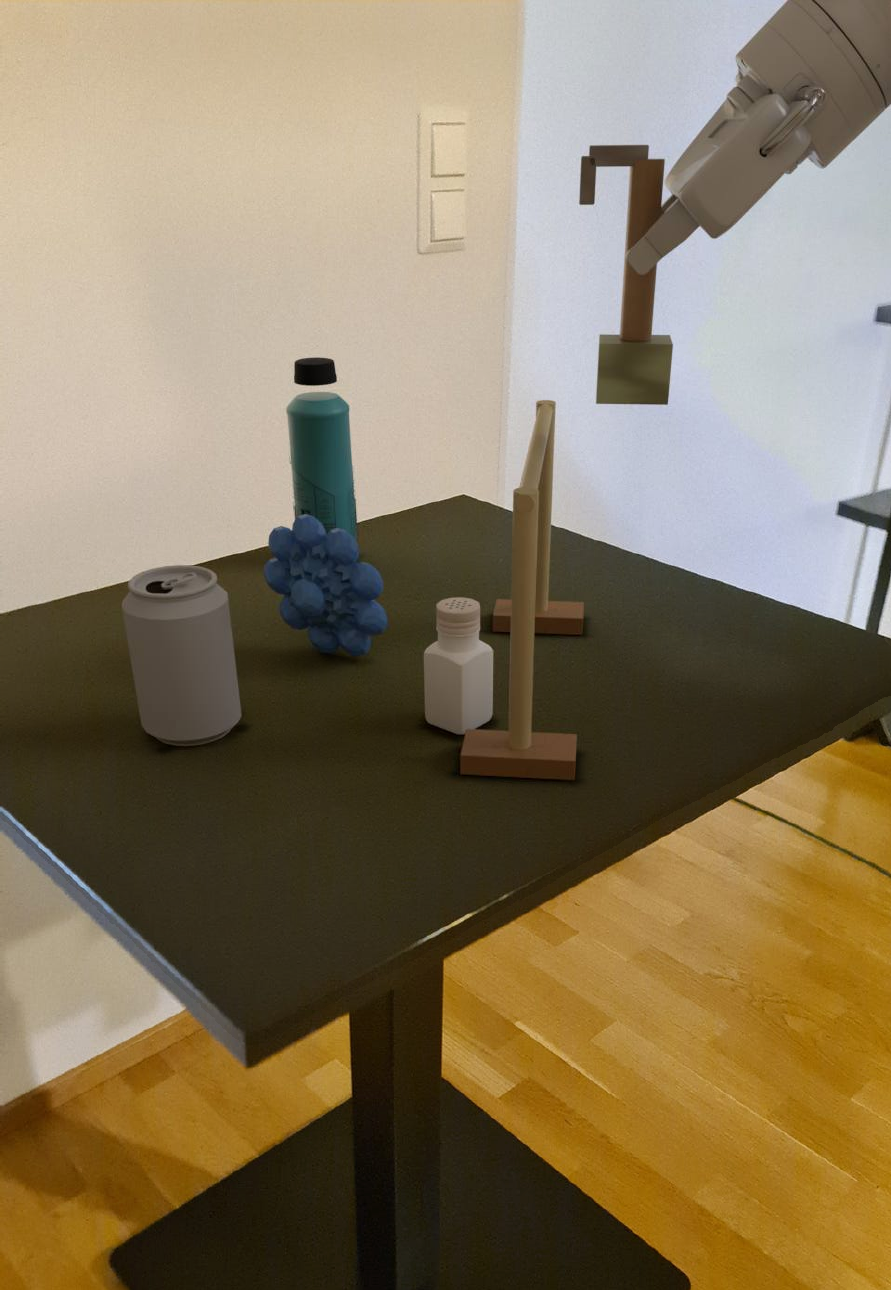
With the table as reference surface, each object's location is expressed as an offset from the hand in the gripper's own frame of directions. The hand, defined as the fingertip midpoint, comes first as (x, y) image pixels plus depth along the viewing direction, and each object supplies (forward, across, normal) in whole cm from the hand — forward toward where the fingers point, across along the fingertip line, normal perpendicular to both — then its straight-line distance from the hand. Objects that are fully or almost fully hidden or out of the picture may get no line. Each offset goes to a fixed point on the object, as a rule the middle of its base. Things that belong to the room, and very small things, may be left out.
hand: (631, 264), depth 77 cm
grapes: (+39, +2, -5) cm, 39 cm away
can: (+44, -11, 0) cm, 45 cm away
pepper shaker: (+30, -8, -14) cm, 34 cm away
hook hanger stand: (+6, 0, -7) cm, 9 cm away
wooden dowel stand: (+26, -2, -18) cm, 32 cm away
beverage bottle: (+42, +28, -2) cm, 51 cm away
